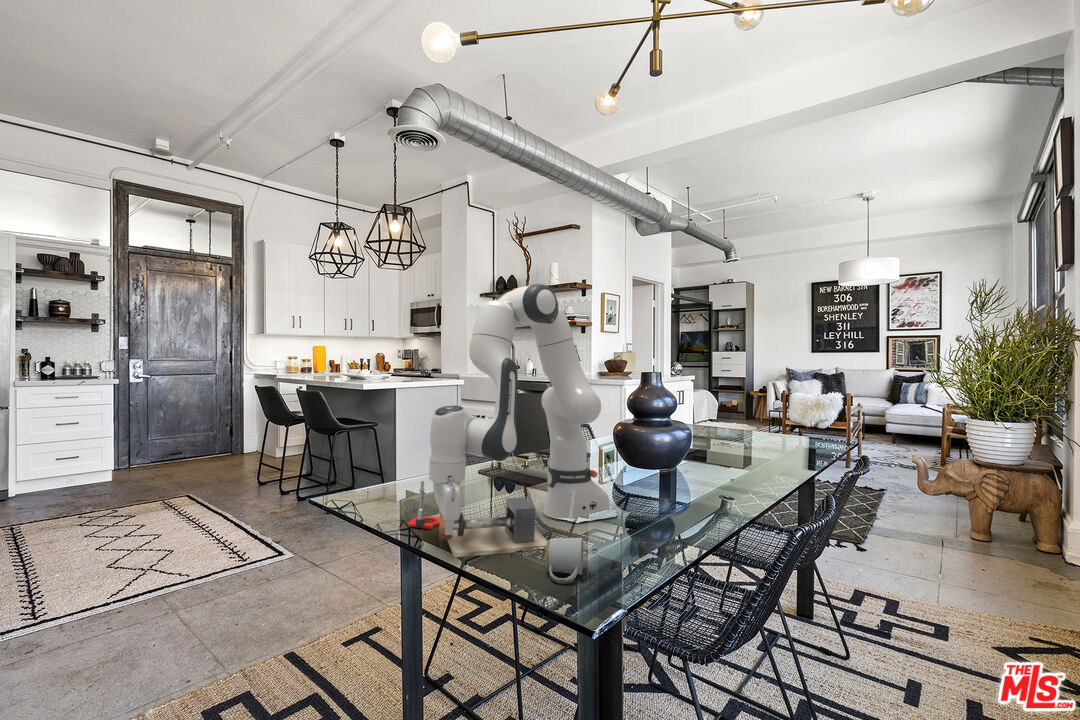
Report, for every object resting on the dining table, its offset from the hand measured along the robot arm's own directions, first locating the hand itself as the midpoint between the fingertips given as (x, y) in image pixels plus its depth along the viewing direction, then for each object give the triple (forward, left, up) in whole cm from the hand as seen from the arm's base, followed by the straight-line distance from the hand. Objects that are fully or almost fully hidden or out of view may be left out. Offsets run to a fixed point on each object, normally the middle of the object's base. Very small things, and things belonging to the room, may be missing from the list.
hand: (445, 527), depth 131 cm
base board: (-13, 0, -4) cm, 14 cm away
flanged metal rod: (-8, 0, -2) cm, 8 cm away
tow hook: (+3, -18, -5) cm, 19 cm away
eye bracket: (-19, 0, -4) cm, 20 cm away
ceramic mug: (-23, +23, -5) cm, 33 cm away
